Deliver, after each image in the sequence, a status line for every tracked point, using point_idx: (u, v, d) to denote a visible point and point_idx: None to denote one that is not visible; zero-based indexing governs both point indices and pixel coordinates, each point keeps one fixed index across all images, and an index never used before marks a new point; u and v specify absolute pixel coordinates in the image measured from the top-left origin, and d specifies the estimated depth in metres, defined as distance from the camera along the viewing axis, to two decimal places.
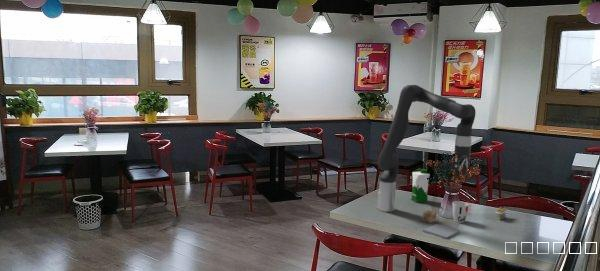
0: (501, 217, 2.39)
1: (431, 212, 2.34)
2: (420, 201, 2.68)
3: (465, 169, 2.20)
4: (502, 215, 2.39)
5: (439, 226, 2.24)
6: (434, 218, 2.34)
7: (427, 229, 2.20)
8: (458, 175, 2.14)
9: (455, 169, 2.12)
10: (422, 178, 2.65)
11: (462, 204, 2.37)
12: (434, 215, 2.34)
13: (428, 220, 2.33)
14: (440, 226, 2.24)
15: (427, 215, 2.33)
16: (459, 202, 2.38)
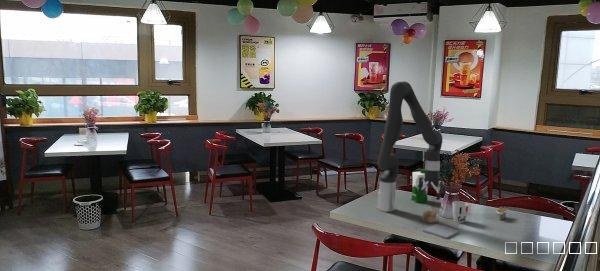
0: (501, 217, 2.39)
1: (431, 212, 2.34)
2: (420, 201, 2.68)
3: (425, 191, 2.36)
4: (502, 215, 2.40)
5: (439, 226, 2.24)
6: (434, 218, 2.34)
7: (427, 229, 2.20)
8: None
9: None
10: None
11: (462, 204, 2.37)
12: (434, 215, 2.34)
13: (428, 220, 2.33)
14: (440, 226, 2.24)
15: (427, 215, 2.33)
16: (459, 202, 2.38)
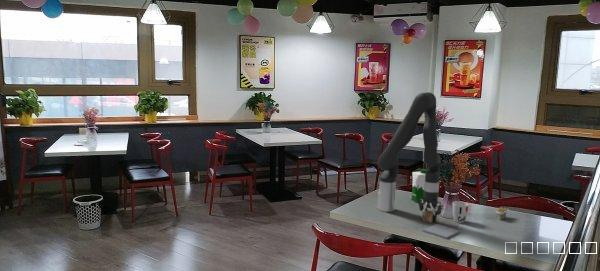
0: (501, 217, 2.39)
1: (431, 212, 2.34)
2: None
3: None
4: (502, 215, 2.40)
5: (439, 226, 2.24)
6: None
7: (427, 229, 2.20)
8: None
9: None
10: (422, 178, 2.65)
11: (462, 204, 2.37)
12: None
13: (428, 220, 2.33)
14: (440, 226, 2.24)
15: (427, 215, 2.33)
16: (459, 202, 2.38)
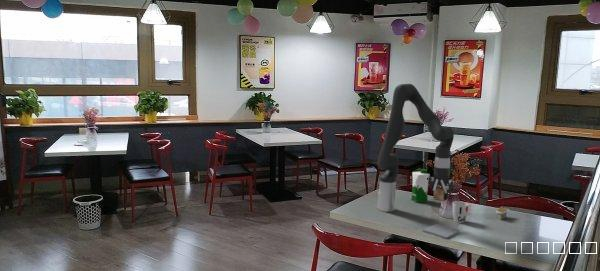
0: (502, 217, 2.39)
1: (442, 190, 2.20)
2: (420, 201, 2.68)
3: None
4: (503, 215, 2.40)
5: (439, 226, 2.24)
6: None
7: (427, 229, 2.20)
8: None
9: None
10: (422, 178, 2.65)
11: (462, 204, 2.37)
12: None
13: (439, 198, 2.19)
14: (440, 226, 2.24)
15: (438, 193, 2.19)
16: (459, 202, 2.38)
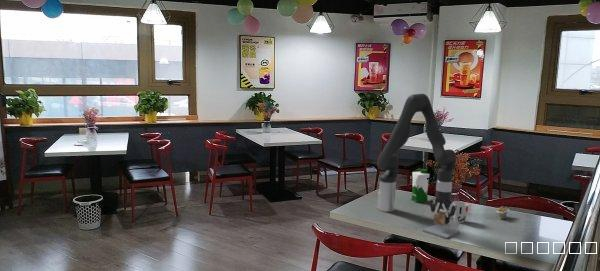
0: (502, 216, 2.40)
1: (444, 213, 2.17)
2: (420, 201, 2.68)
3: None
4: (503, 214, 2.40)
5: (439, 226, 2.24)
6: None
7: (427, 229, 2.20)
8: None
9: None
10: (422, 178, 2.65)
11: (462, 204, 2.37)
12: None
13: (440, 222, 2.16)
14: (440, 226, 2.24)
15: (439, 217, 2.16)
16: (459, 202, 2.38)
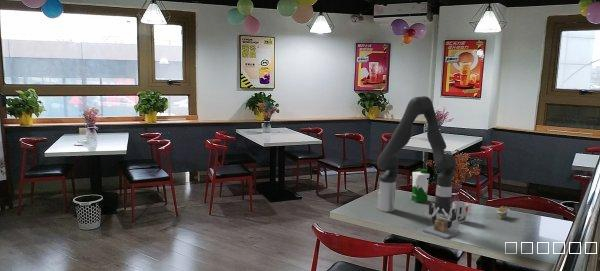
0: (502, 216, 2.40)
1: (443, 221, 2.18)
2: (420, 201, 2.68)
3: (435, 217, 2.21)
4: (503, 214, 2.41)
5: None
6: (446, 227, 2.17)
7: (427, 229, 2.20)
8: None
9: None
10: (422, 178, 2.65)
11: (462, 204, 2.37)
12: (446, 224, 2.17)
13: (440, 229, 2.17)
14: None
15: (438, 224, 2.17)
16: (459, 202, 2.38)
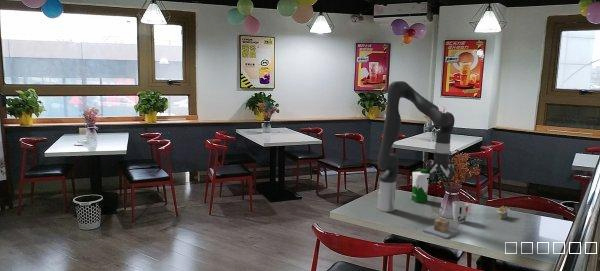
0: (502, 216, 2.40)
1: (443, 221, 2.18)
2: (420, 201, 2.68)
3: (433, 174, 2.28)
4: (503, 214, 2.41)
5: None
6: (446, 227, 2.17)
7: (427, 229, 2.20)
8: None
9: None
10: (422, 178, 2.65)
11: (462, 204, 2.37)
12: (446, 224, 2.17)
13: (440, 229, 2.17)
14: None
15: (438, 224, 2.17)
16: (459, 202, 2.38)
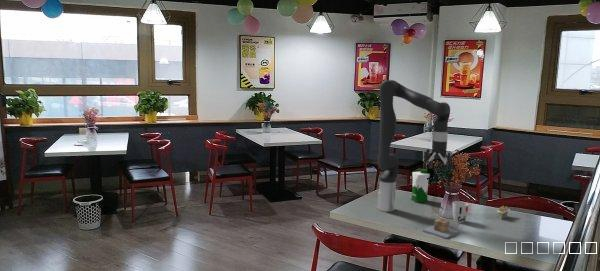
0: (503, 216, 2.40)
1: (443, 221, 2.18)
2: (420, 201, 2.68)
3: (432, 162, 2.36)
4: (504, 214, 2.41)
5: None
6: (446, 227, 2.17)
7: (427, 229, 2.20)
8: None
9: None
10: (422, 178, 2.65)
11: (462, 204, 2.37)
12: (446, 224, 2.17)
13: (440, 229, 2.17)
14: None
15: (438, 224, 2.17)
16: (459, 202, 2.38)
